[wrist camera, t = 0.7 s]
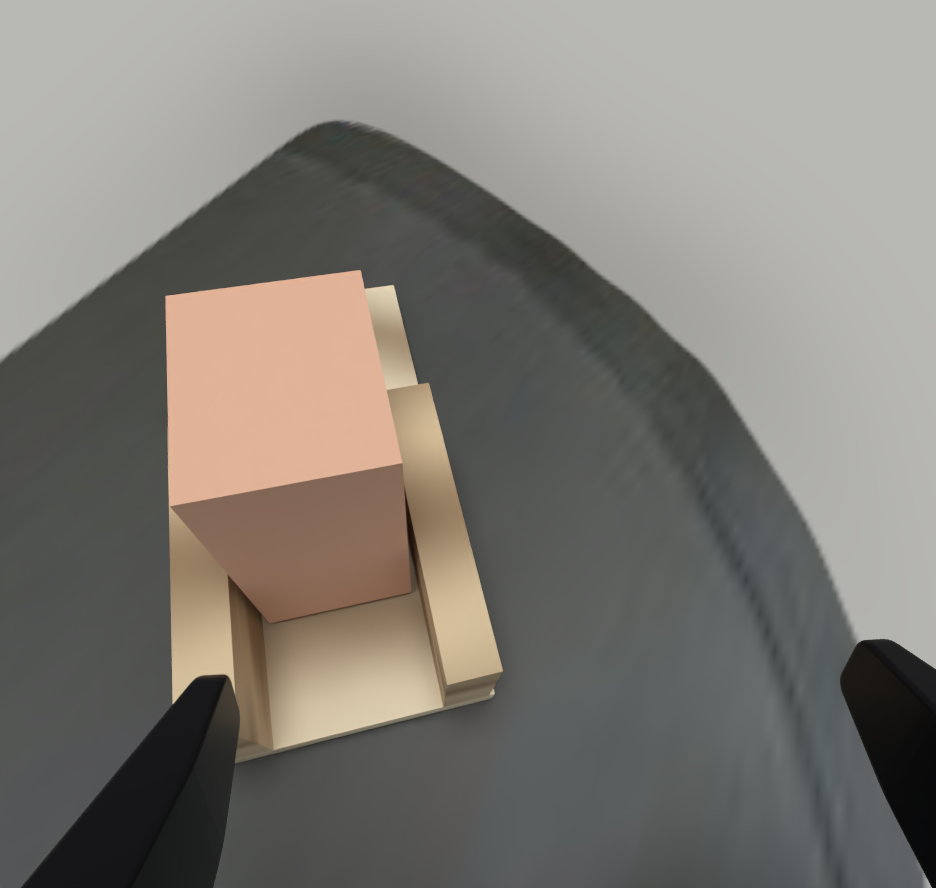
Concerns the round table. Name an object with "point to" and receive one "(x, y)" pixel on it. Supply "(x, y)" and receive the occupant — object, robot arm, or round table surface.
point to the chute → (353, 627)
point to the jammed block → (287, 443)
